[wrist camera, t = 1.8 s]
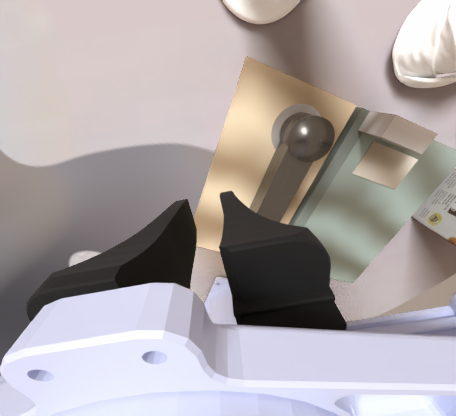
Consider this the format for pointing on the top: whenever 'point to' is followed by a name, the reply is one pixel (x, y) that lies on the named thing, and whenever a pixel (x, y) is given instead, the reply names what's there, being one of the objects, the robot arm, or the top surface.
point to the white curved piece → (427, 45)
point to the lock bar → (292, 162)
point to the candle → (260, 9)
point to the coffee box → (441, 209)
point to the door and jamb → (324, 168)
